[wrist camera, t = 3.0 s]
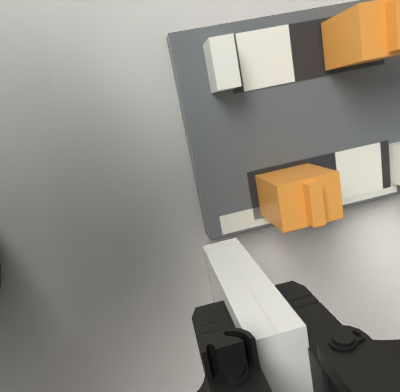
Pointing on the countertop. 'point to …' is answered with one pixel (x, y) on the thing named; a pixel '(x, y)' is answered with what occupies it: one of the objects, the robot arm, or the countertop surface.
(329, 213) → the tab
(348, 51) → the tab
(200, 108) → the switch board
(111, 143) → the countertop surface
